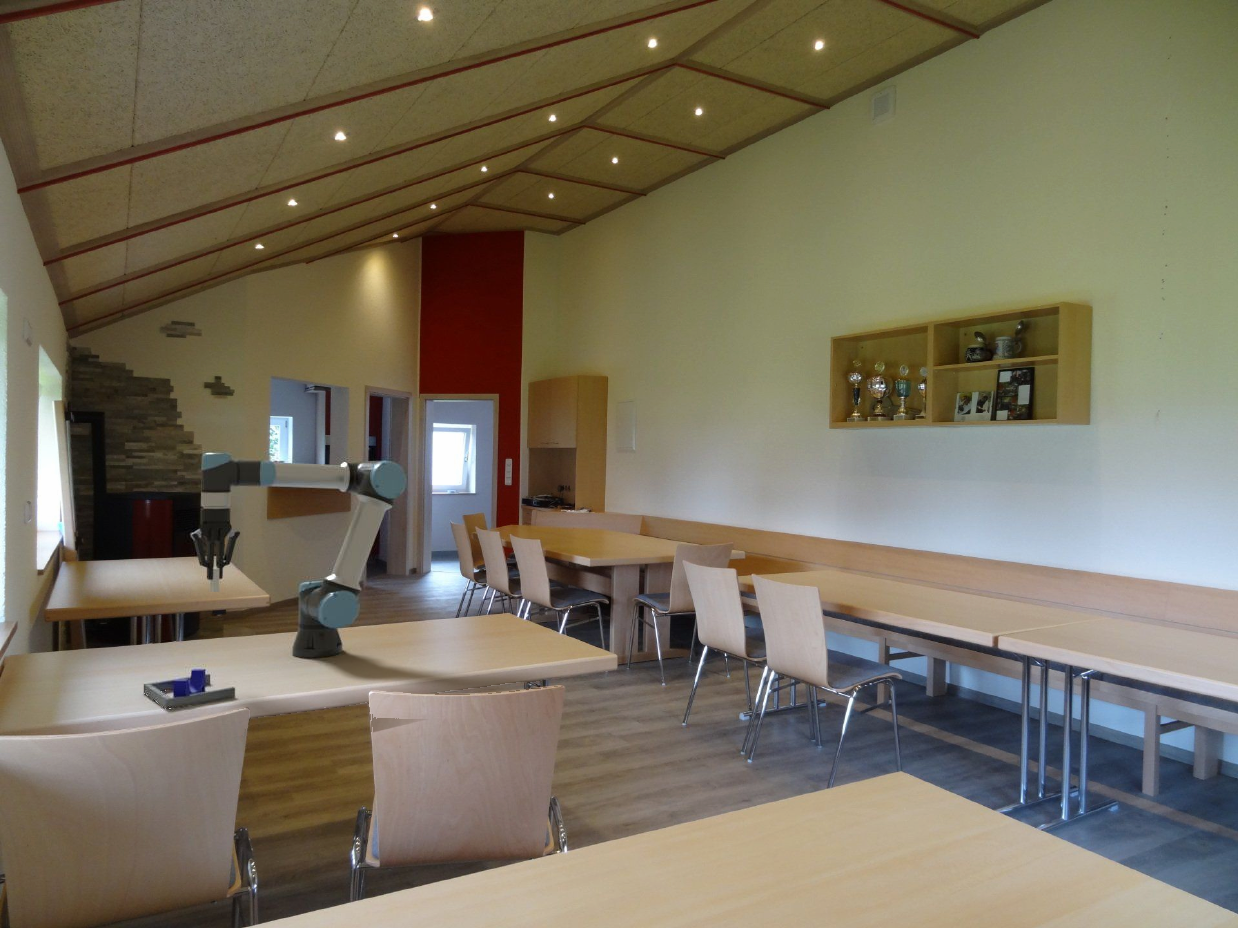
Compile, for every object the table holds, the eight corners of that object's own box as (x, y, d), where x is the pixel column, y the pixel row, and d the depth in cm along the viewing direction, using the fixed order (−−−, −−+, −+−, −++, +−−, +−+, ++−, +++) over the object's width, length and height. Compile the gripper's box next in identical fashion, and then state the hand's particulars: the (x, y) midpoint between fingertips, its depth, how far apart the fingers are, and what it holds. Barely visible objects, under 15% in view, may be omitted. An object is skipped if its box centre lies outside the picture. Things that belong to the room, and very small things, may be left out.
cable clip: (187, 691, 217) (187, 669, 217) (205, 691, 217) (205, 668, 217) (166, 704, 205) (167, 680, 205) (185, 704, 205) (186, 680, 205)
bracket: (208, 682, 225) (208, 673, 225) (234, 697, 211) (235, 687, 211) (143, 693, 214) (143, 684, 214) (166, 709, 200) (167, 699, 200)
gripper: (234, 506, 238) (233, 587, 238) (186, 507, 229) (185, 591, 229) (244, 507, 233) (243, 590, 233) (195, 508, 224) (194, 594, 224)
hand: (214, 590), depth 231 cm, fingers closed
